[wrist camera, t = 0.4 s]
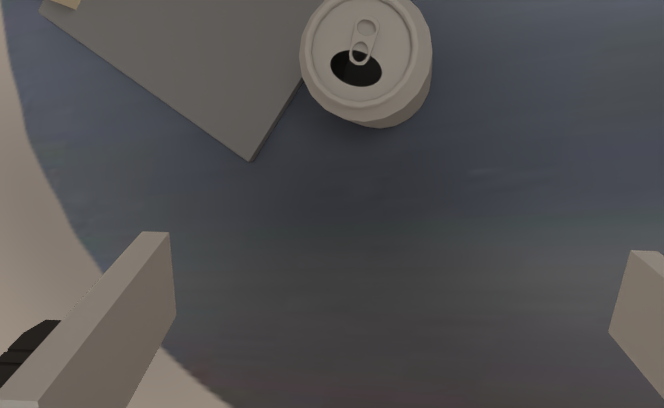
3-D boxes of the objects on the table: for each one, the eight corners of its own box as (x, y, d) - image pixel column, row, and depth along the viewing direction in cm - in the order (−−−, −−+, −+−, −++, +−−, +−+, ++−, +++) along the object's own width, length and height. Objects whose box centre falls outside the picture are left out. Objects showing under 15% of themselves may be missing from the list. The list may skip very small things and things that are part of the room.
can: (320, 112, 39) (274, 96, 28) (349, 16, 38) (314, -43, 26) (412, 141, 38) (405, 137, 26) (445, 43, 37) (453, -6, 25)
